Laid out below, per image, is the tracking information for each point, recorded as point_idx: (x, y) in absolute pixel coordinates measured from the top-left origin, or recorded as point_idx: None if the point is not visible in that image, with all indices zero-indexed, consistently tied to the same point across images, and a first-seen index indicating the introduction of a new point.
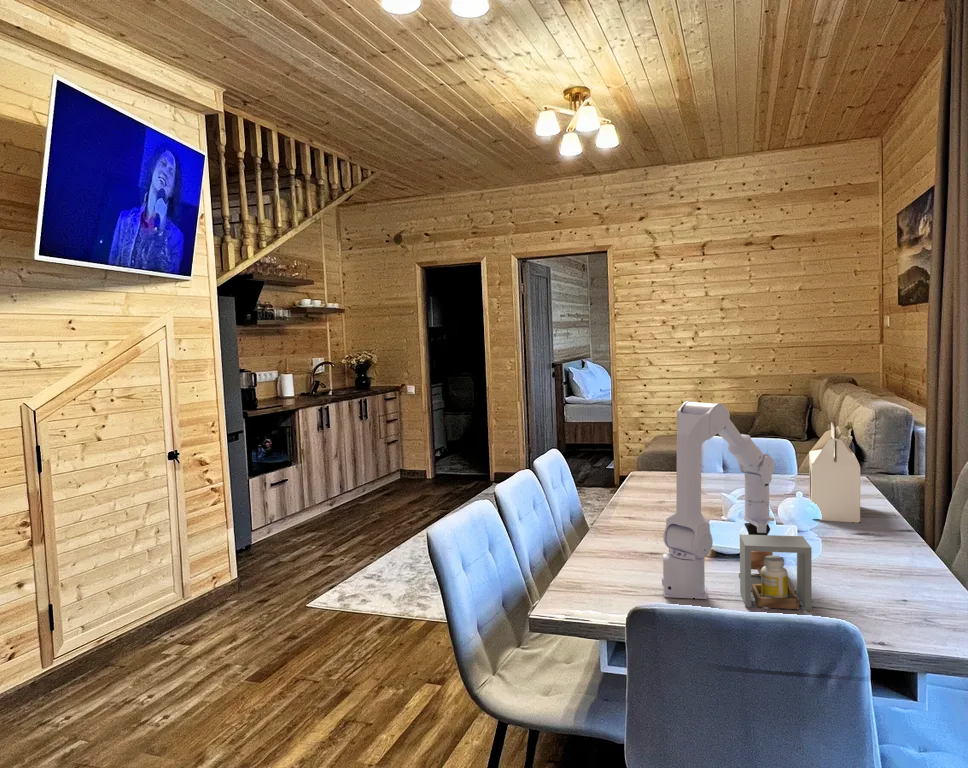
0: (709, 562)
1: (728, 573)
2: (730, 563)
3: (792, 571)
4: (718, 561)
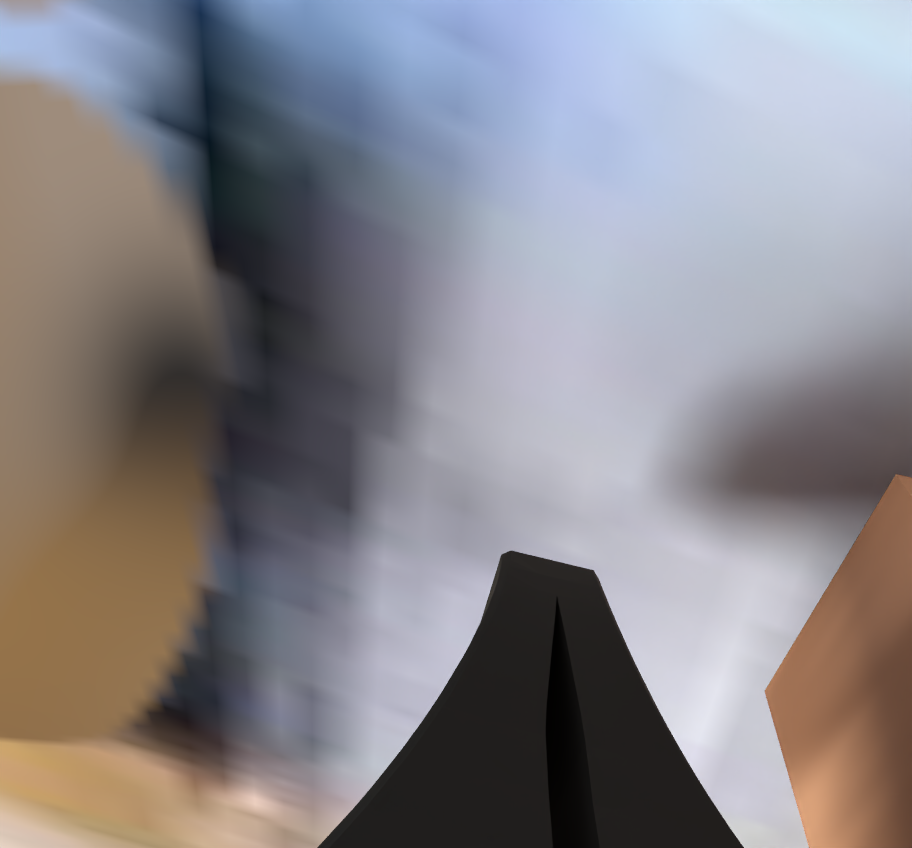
0: None
1: (715, 804)
2: (418, 691)
3: (898, 74)
4: (350, 756)
